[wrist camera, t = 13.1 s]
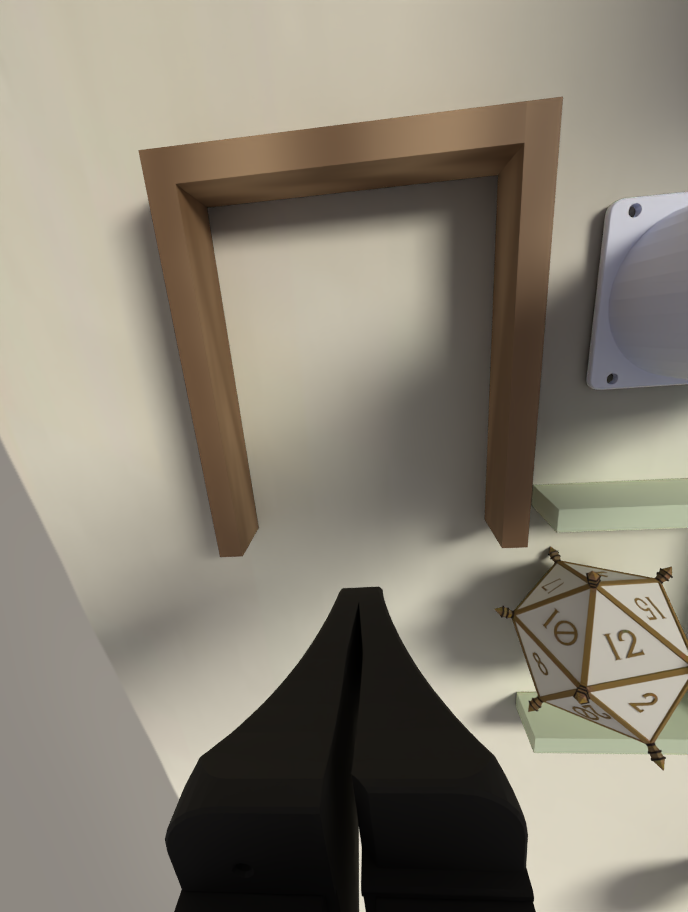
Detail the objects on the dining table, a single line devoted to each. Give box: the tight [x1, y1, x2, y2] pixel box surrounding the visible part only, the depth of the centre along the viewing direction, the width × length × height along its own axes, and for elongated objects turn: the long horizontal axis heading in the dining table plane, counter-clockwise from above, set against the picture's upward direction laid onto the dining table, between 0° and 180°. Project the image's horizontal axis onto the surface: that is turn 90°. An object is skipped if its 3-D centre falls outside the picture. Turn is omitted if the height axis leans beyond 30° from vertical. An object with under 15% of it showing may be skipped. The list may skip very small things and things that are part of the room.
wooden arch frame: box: [139, 97, 563, 557], centre depth 18 cm, size 15×18×3 cm
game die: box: [495, 547, 688, 771], centre depth 19 cm, size 9×8×10 cm
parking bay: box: [516, 478, 688, 755], centre depth 21 cm, size 12×16×3 cm
